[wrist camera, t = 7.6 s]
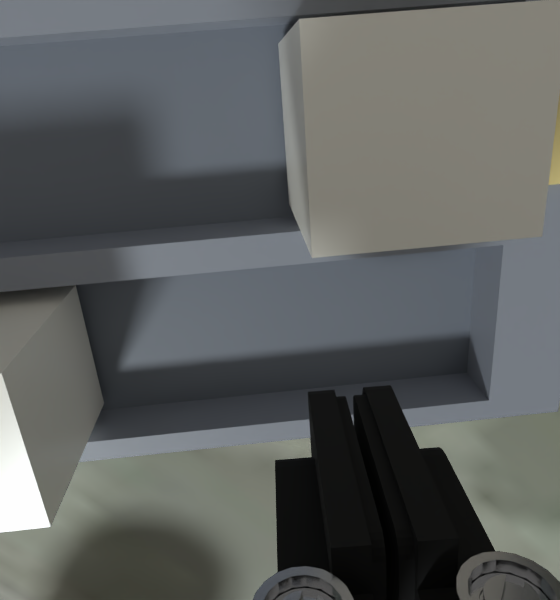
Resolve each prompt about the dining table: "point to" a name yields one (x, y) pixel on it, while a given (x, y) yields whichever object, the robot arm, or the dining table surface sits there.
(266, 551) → the dining table surface
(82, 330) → the tab inner
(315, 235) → the tab middle
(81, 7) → the switch bank
